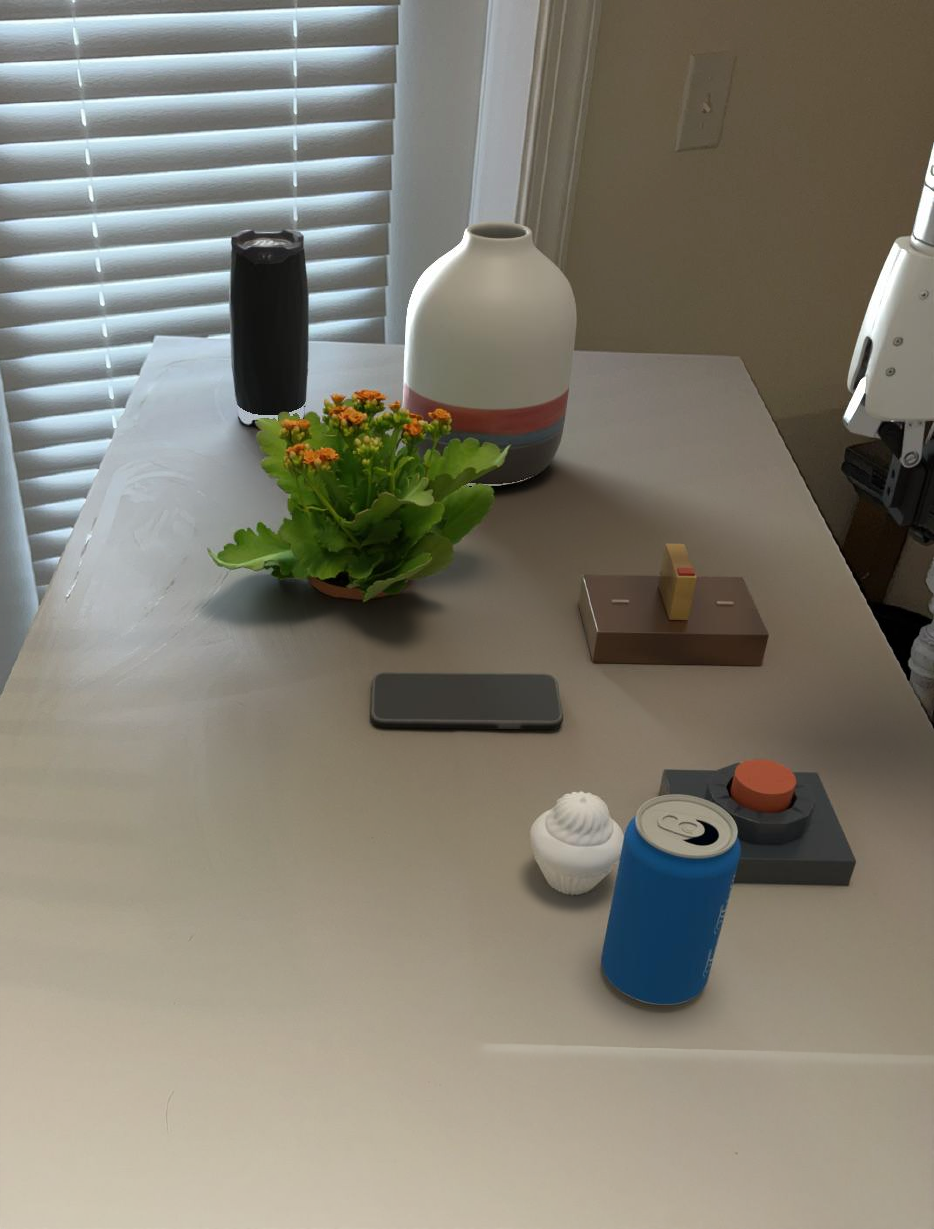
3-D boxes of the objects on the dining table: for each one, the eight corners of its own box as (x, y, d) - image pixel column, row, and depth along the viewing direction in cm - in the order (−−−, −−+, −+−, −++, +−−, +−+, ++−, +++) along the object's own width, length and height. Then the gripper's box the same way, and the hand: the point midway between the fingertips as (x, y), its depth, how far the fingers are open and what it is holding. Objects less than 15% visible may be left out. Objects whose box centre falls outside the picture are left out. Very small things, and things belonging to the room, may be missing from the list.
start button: (782, 779, 93) (788, 759, 92) (797, 815, 90) (803, 794, 89) (724, 778, 93) (729, 758, 92) (736, 814, 90) (742, 793, 89)
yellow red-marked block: (657, 585, 116) (665, 540, 113) (676, 585, 116) (684, 540, 113) (668, 620, 111) (677, 574, 109) (688, 620, 111) (697, 574, 108)
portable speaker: (309, 402, 157) (309, 224, 145) (306, 433, 150) (306, 249, 138) (236, 401, 158) (230, 224, 145) (230, 432, 150) (223, 248, 138)
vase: (377, 483, 140) (385, 243, 125) (429, 425, 152) (442, 200, 137) (535, 510, 134) (563, 263, 120) (575, 448, 147) (605, 217, 132)
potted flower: (281, 503, 136) (279, 327, 125) (513, 531, 131) (532, 351, 120) (200, 622, 117) (188, 428, 106) (467, 660, 112) (484, 461, 101)
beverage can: (684, 1029, 79) (723, 875, 72) (583, 987, 82) (610, 835, 75) (720, 964, 84) (760, 812, 76) (622, 927, 86) (652, 777, 79)
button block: (810, 796, 97) (823, 751, 95) (848, 886, 89) (864, 840, 87) (658, 793, 98) (667, 748, 95) (682, 882, 90) (693, 836, 87)
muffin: (515, 897, 89) (525, 814, 84) (535, 843, 93) (546, 761, 89) (608, 919, 87) (624, 835, 83) (624, 862, 91) (640, 780, 87)
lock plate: (736, 606, 119) (743, 574, 117) (761, 666, 111) (769, 632, 109) (578, 604, 120) (582, 572, 118) (592, 663, 112) (597, 629, 110)
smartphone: (371, 670, 109) (556, 672, 108) (371, 680, 110) (555, 681, 109) (370, 721, 104) (565, 723, 103) (370, 731, 104) (564, 733, 103)
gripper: (1090, 199, 80) (998, 490, 91) (835, 206, 80) (776, 493, 92) (1149, 235, 74) (1043, 540, 85) (873, 241, 74) (805, 544, 86)
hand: (905, 515), depth 88 cm, fingers closed
